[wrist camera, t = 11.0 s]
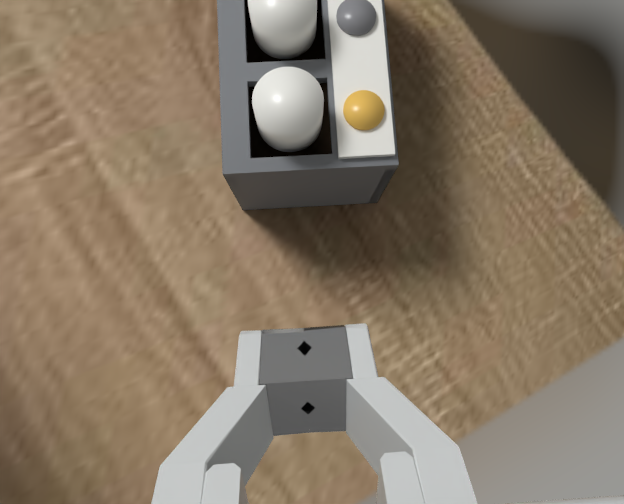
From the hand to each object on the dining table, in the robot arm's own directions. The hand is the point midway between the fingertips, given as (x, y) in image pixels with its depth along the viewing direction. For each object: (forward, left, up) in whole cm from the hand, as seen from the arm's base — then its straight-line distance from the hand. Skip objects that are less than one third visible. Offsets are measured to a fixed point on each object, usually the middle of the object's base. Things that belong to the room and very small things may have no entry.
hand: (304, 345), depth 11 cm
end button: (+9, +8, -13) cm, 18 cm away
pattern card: (+16, +8, -13) cm, 22 cm away
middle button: (+13, +11, -13) cm, 22 cm away
